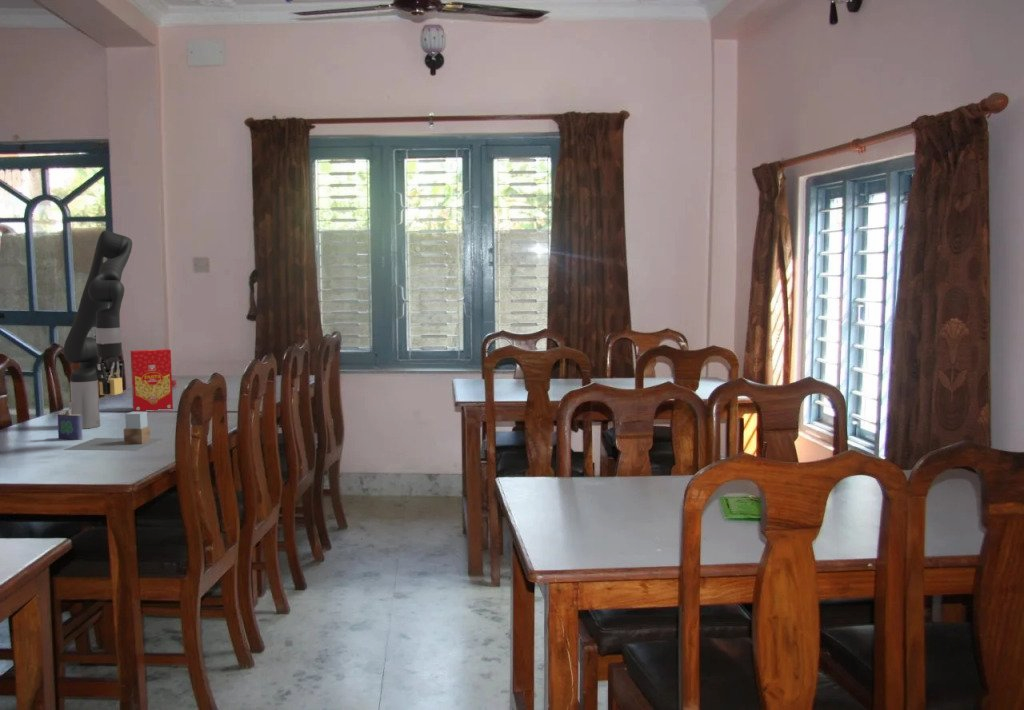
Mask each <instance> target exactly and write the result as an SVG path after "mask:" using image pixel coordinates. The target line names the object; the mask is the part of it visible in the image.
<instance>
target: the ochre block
mask: <svg viewBox="0 0 1024 710" xmlns="http://www.w3.org/2000/svg"><path fill="white" fill-rule="evenodd" d="M98 385H99V396H116V395H119V394H123V392H124V391H123V389H124V388H123V378H110V392H111V393H110V394H103V383H101V382H98Z"/></svg>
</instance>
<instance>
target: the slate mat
mask: <svg viewBox="0 0 1024 710" xmlns="http://www.w3.org/2000/svg"><path fill="white" fill-rule="evenodd" d="M162 440H163V438H157V437H156V438H152V437H150V441H149V442H146V443H144V444H124V437H95V438H92V439H89V440H87V441H84V442H80V443H78V444H76V445H73V446H70V447H67V448H65V449H63V450H64V451H127V452H128V451H129V452H130V451H132V452H133V451H134V452H135V451H140V450H141V449H144V448H145V447H148V446H151V445H152V444H156V443H157V442H160V441H162Z"/></svg>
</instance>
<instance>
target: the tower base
mask: <svg viewBox="0 0 1024 710" xmlns="http://www.w3.org/2000/svg"><path fill="white" fill-rule="evenodd" d="M123 438H124V444H144V443H146V442H149V441H150V438H151V426H150V425H148V426H147V427H145V428H142V429H126V427H125V428H123Z"/></svg>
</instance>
